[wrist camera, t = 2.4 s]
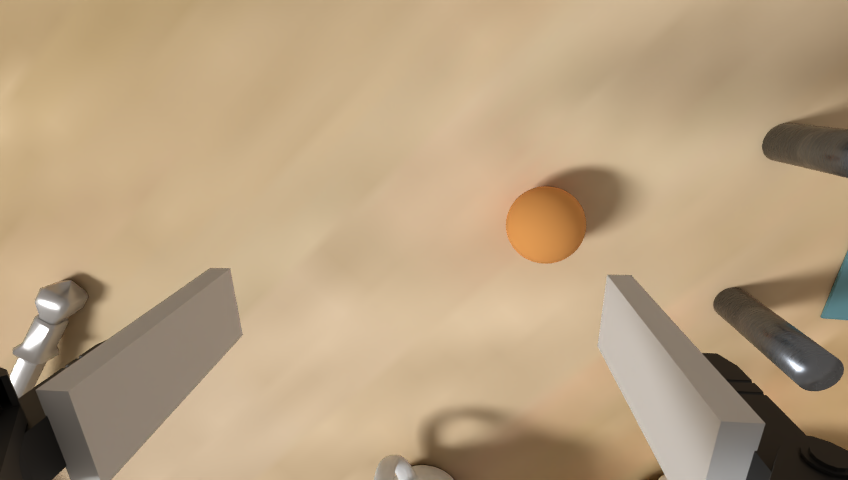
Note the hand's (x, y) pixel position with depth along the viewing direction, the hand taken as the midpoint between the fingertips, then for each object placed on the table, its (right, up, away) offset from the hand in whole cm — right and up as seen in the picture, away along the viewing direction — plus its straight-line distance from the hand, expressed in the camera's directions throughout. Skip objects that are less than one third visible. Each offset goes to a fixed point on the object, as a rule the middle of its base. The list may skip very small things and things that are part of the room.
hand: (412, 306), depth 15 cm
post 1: (+26, +9, +15) cm, 31 cm away
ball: (+9, +3, +16) cm, 18 cm away
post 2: (+25, -3, +19) cm, 32 cm away
